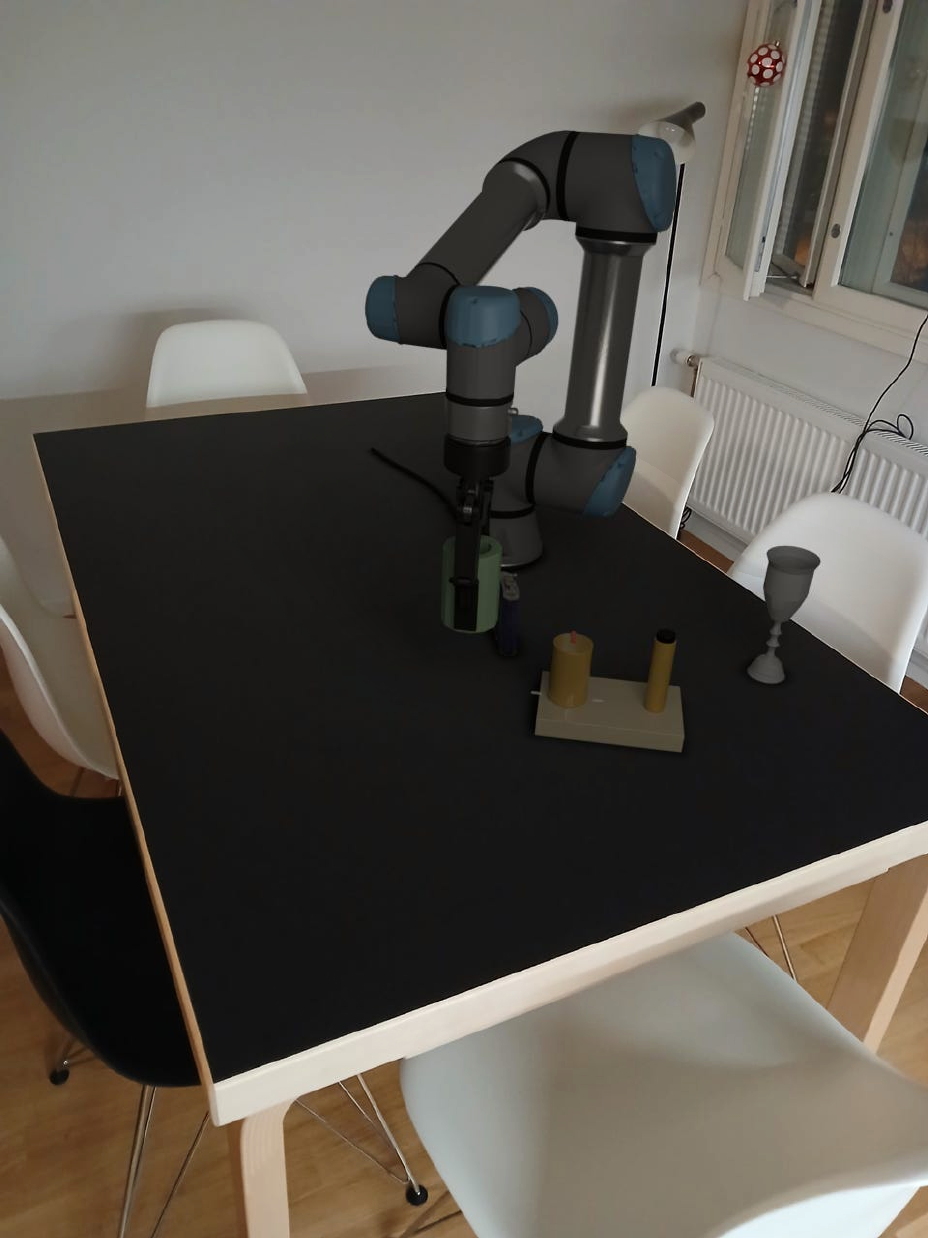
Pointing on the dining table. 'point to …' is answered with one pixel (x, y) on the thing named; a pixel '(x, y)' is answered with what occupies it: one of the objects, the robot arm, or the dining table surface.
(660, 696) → the brown tall cylinder
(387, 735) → the dining table surface
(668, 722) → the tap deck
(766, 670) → the chalice
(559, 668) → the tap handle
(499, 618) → the flask
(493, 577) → the sleeve
